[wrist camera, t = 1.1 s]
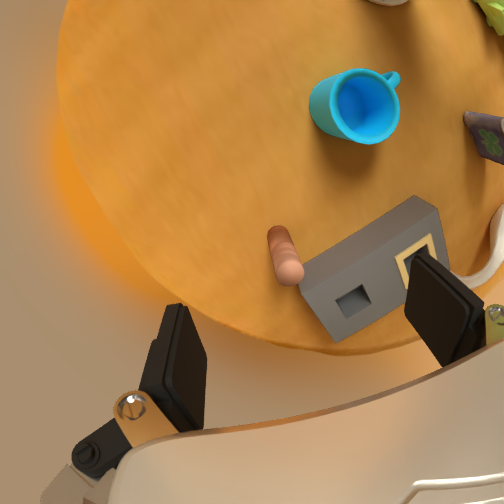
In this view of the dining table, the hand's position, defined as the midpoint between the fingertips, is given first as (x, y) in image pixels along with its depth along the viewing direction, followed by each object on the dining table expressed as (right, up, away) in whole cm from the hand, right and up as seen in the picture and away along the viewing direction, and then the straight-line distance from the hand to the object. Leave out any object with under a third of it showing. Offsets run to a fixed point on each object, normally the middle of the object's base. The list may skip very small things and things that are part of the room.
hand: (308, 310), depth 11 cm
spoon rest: (+44, +5, +30) cm, 53 cm away
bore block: (+16, +1, +30) cm, 35 cm away
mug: (+10, +22, +20) cm, 31 cm away
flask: (+35, +22, +21) cm, 46 cm away
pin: (+1, +4, +28) cm, 28 cm away
